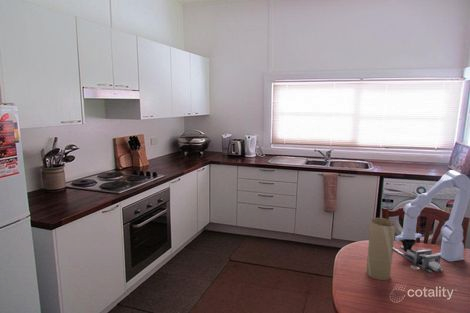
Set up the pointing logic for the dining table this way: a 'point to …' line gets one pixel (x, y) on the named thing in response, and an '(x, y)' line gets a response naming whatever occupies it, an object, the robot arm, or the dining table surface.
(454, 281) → the dining table surface
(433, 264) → the grey metal elongated piece
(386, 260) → the tube
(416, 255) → the grey metal angular piece
